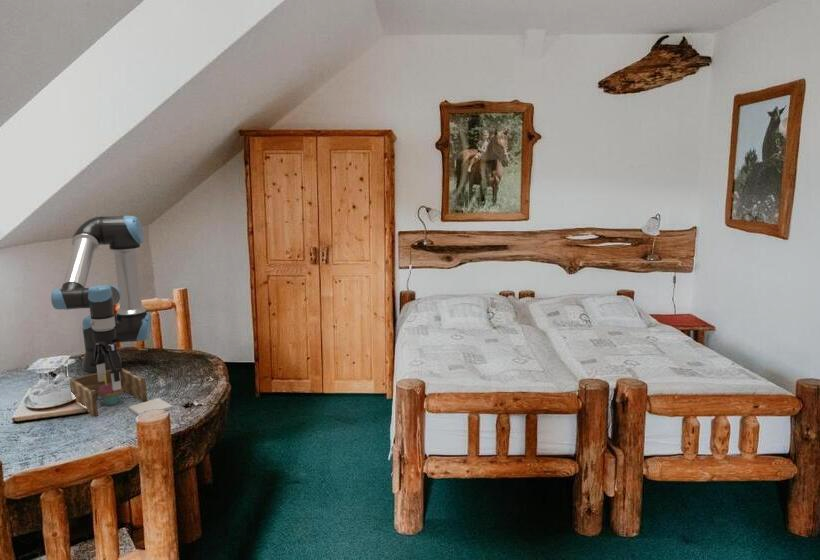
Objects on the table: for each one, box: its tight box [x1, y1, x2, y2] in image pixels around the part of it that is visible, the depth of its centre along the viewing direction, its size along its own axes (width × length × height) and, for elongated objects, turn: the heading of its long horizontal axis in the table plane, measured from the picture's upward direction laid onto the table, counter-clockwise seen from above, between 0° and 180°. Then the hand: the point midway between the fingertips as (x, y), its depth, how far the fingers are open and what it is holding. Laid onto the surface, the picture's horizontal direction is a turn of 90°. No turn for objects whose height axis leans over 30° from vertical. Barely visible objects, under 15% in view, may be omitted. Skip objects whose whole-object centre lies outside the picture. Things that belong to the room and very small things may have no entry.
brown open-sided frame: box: [69, 367, 148, 418], centre depth 223 cm, size 22×18×9 cm
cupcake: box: [97, 374, 124, 406], centre depth 222 cm, size 9×8×12 cm
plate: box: [128, 397, 174, 416], centre depth 216 cm, size 11×11×1 cm
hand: (109, 385), depth 221 cm, fingers open, 13 cm apart
